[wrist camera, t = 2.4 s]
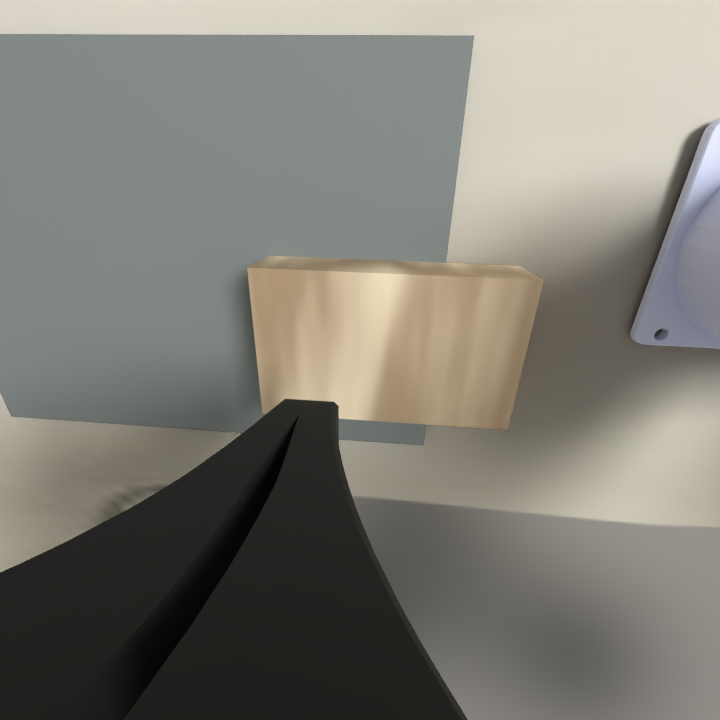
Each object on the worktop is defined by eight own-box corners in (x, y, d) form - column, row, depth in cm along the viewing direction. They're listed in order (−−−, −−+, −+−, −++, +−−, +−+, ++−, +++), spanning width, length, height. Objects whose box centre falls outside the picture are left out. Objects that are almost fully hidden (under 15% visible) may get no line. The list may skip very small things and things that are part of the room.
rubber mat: (471, 41, 12) (474, 35, 11) (422, 439, 19) (423, 445, 18) (-145, 39, 13) (-164, 33, 13) (19, 411, 20) (11, 416, 20)
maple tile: (269, 255, 15) (520, 265, 14) (279, 384, 17) (492, 397, 17) (247, 267, 13) (544, 280, 12) (262, 413, 15) (507, 430, 15)
